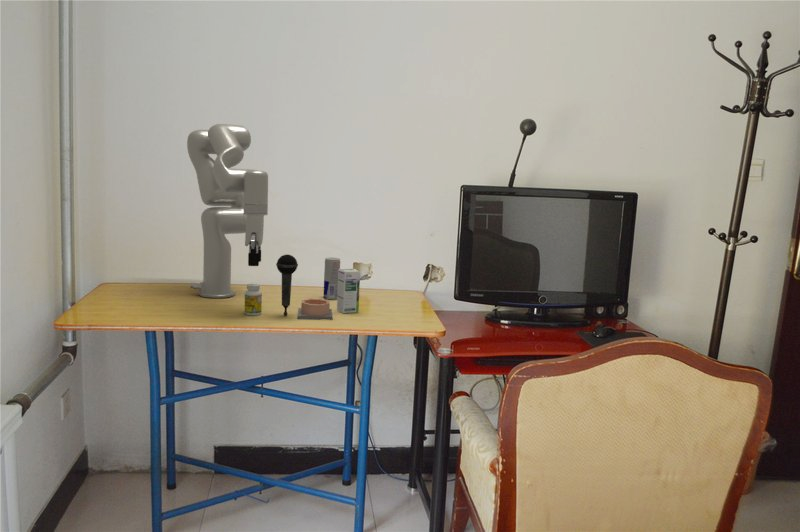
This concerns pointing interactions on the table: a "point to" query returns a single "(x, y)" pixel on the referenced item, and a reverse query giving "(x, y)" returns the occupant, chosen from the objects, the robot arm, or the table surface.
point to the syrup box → (348, 290)
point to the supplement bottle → (253, 300)
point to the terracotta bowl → (315, 309)
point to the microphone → (286, 277)
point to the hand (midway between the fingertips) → (254, 263)
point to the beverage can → (331, 278)
